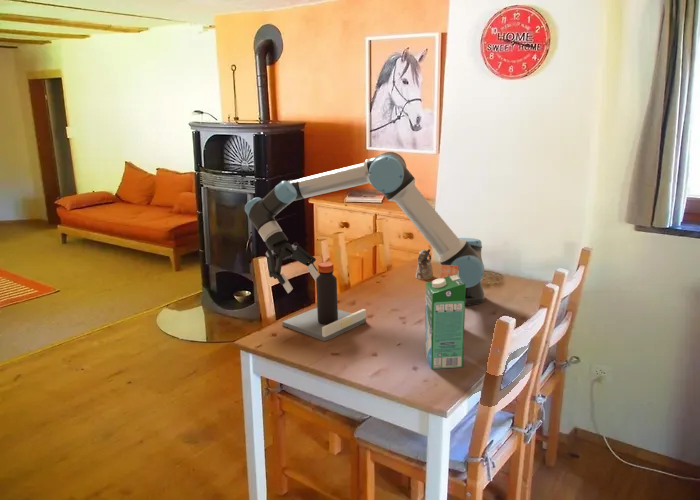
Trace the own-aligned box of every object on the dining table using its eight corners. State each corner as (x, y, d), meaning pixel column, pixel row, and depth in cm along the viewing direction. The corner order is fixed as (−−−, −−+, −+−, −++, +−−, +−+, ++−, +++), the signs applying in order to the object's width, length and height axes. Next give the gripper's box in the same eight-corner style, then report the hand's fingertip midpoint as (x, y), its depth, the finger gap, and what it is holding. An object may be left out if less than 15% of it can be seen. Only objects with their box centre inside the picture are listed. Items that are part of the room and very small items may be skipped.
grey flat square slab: (366, 322, 193) (366, 309, 191) (326, 341, 178) (325, 328, 177) (323, 308, 206) (323, 296, 205) (282, 325, 192) (281, 313, 190)
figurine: (413, 275, 240) (413, 248, 237) (428, 273, 242) (429, 246, 239) (419, 280, 234) (419, 252, 231) (435, 278, 235) (435, 251, 232)
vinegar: (318, 326, 187) (316, 268, 181) (316, 318, 193) (314, 262, 188) (339, 324, 188) (337, 266, 182) (336, 316, 194) (334, 260, 189)
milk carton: (424, 355, 168) (425, 274, 161) (454, 353, 169) (457, 273, 162) (431, 369, 159) (432, 285, 153) (463, 367, 160) (465, 283, 153)
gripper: (294, 236, 212) (325, 282, 206) (241, 250, 194) (272, 301, 188) (304, 224, 207) (335, 271, 201) (250, 237, 189) (282, 289, 183)
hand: (305, 285), depth 195 cm, fingers open, 13 cm apart
